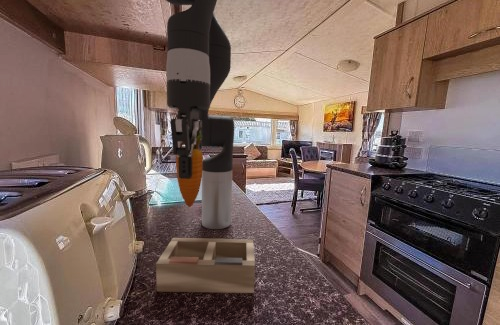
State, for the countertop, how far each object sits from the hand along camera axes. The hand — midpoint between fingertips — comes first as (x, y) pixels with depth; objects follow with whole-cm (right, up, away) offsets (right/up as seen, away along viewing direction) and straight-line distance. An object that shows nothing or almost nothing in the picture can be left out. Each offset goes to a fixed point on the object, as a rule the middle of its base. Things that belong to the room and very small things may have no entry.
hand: (189, 174), depth 43 cm
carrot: (0, -7, +1) cm, 7 cm away
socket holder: (+3, -21, +3) cm, 21 cm away
